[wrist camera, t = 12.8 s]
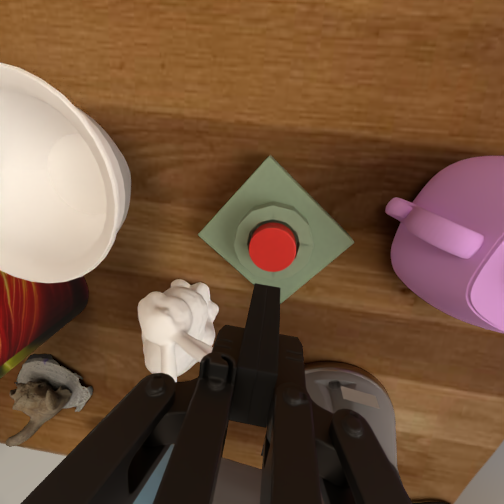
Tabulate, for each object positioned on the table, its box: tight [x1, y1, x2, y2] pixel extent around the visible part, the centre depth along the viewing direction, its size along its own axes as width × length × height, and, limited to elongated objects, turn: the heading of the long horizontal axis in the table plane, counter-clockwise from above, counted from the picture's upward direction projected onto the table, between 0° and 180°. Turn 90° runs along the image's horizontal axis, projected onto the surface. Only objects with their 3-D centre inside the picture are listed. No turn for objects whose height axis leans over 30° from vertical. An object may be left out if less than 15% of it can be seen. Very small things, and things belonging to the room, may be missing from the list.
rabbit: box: [138, 279, 219, 382], centre depth 27 cm, size 12×9×12 cm
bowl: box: [0, 62, 131, 283], centre depth 24 cm, size 16×16×9 cm
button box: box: [198, 155, 354, 304], centre depth 26 cm, size 11×10×4 cm
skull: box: [6, 354, 93, 447], centre depth 38 cm, size 10×12×6 cm
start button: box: [249, 222, 296, 272], centre depth 24 cm, size 4×4×2 cm
